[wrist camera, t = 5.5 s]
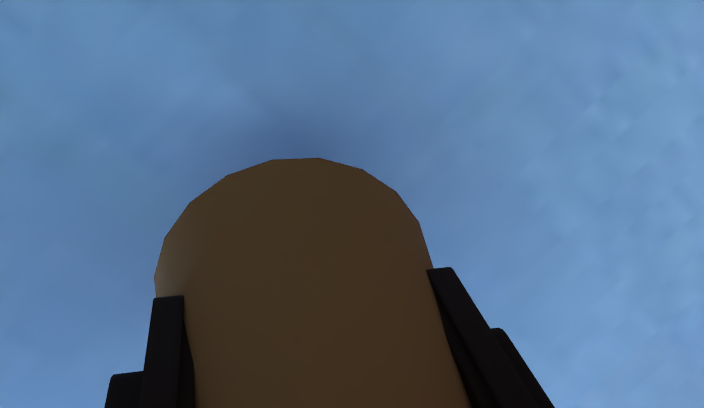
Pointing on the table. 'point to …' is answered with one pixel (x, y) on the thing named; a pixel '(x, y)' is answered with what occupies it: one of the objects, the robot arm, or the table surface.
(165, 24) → the table surface
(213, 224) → the brown rounded tall piece
